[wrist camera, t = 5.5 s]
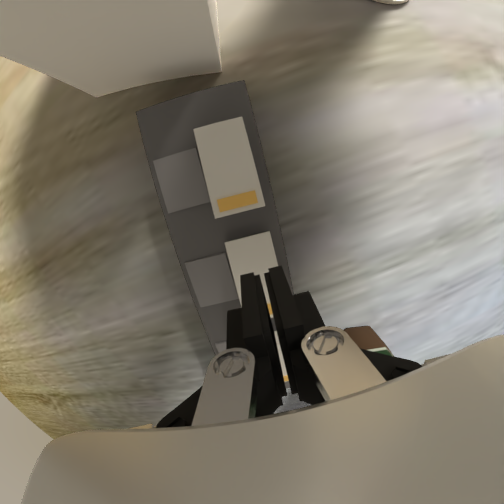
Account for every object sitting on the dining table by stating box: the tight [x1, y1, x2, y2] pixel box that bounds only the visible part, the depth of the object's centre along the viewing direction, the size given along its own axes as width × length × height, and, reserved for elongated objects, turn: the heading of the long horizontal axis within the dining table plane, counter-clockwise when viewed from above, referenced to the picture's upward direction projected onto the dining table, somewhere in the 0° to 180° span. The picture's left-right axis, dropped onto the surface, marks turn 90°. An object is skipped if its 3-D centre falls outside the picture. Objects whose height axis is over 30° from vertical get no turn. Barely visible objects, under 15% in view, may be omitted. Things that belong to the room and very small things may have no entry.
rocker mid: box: [225, 231, 278, 318], centre depth 20 cm, size 6×3×2 cm, turn 12°
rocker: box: [193, 117, 265, 219], centre depth 18 cm, size 6×3×2 cm, turn 13°
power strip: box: [136, 80, 294, 388], centre depth 24 cm, size 31×8×4 cm, turn 14°
